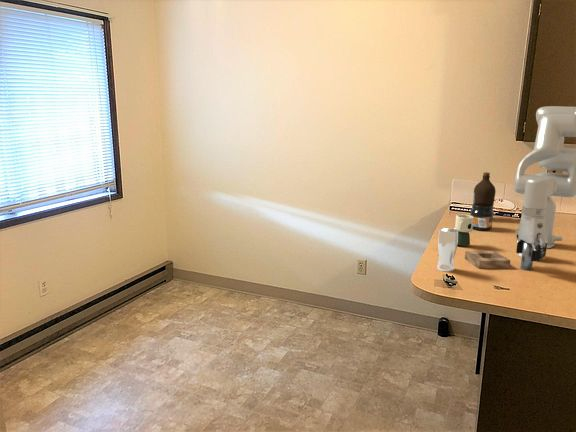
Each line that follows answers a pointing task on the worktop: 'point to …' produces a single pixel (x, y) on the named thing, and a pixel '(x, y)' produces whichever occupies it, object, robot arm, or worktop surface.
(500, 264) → the square ring frame
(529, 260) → the metal peg
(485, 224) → the supplement container
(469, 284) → the worktop surface
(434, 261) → the worktop surface
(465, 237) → the character mug
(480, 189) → the olive oil
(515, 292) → the worktop surface
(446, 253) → the beer glass
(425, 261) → the worktop surface
